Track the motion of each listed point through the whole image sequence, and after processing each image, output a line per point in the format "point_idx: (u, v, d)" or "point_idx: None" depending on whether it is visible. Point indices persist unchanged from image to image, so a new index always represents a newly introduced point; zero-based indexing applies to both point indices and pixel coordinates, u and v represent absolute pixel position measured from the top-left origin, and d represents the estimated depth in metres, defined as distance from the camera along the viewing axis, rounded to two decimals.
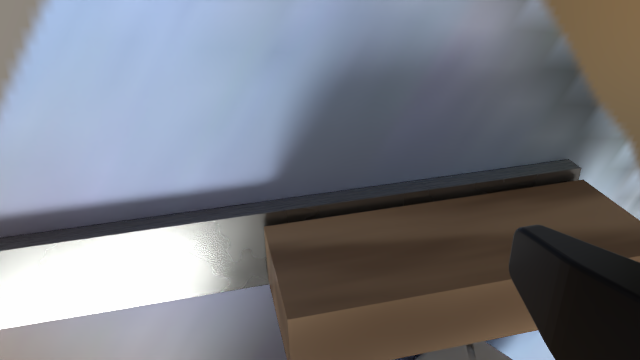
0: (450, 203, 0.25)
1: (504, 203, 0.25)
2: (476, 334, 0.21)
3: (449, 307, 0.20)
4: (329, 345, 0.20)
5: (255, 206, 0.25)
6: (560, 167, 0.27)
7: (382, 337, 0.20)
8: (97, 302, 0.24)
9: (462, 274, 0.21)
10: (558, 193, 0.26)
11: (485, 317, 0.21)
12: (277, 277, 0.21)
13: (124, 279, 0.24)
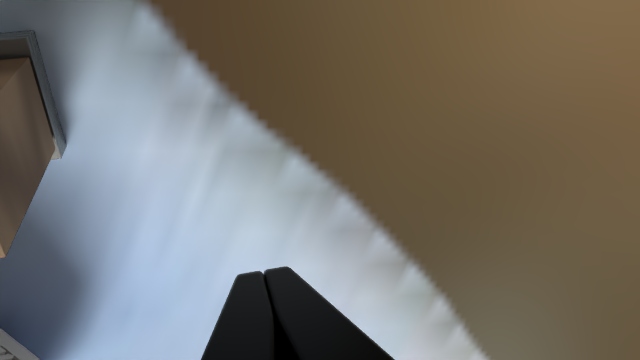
0: None
1: None
2: None
3: None
4: None
5: None
6: None
7: None
8: None
9: None
10: None
11: None
12: None
13: None
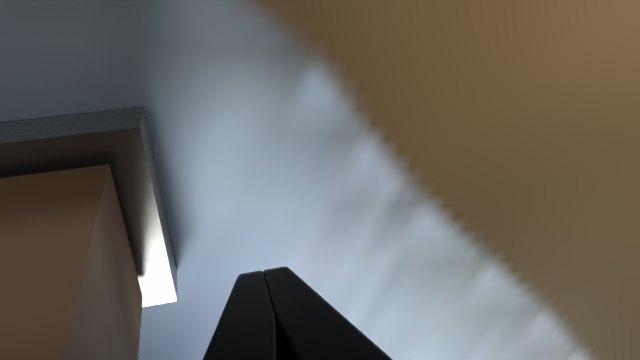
0: None
1: None
2: None
3: None
4: None
5: None
6: (88, 126, 0.10)
7: None
8: None
9: None
10: None
11: None
12: None
13: None
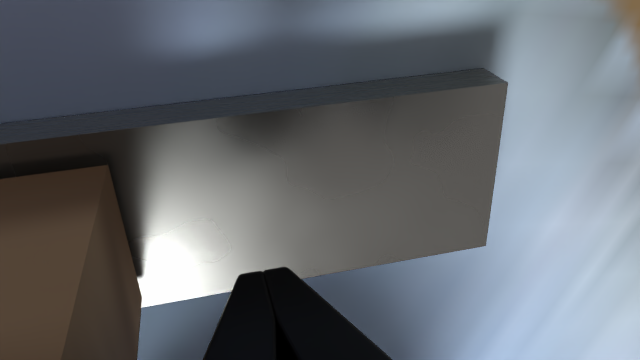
0: None
1: None
2: None
3: None
4: None
5: None
6: (457, 83, 0.11)
7: None
8: None
9: None
10: None
11: None
12: None
13: None
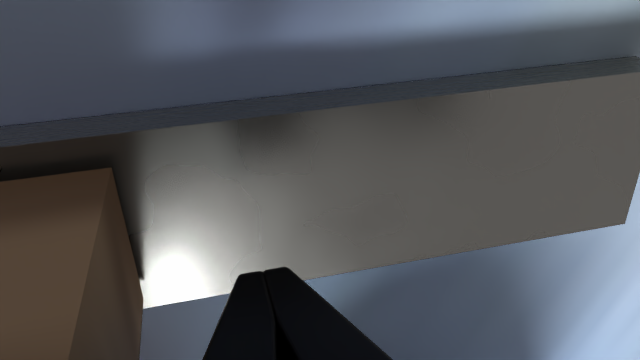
0: None
1: None
2: None
3: None
4: None
5: None
6: (620, 68, 0.12)
7: None
8: None
9: None
10: None
11: None
12: None
13: None
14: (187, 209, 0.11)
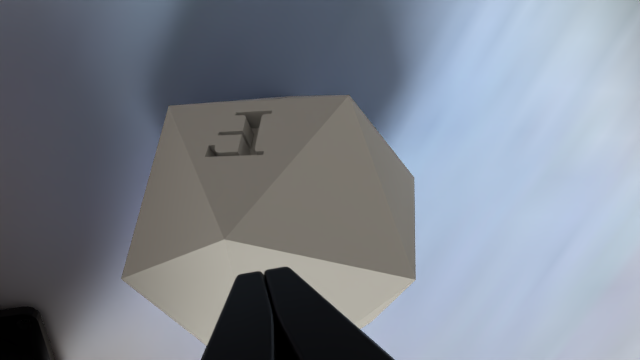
0: None
1: None
2: None
3: None
4: None
5: None
6: None
7: None
8: None
9: None
10: None
11: None
12: None
13: None
14: None
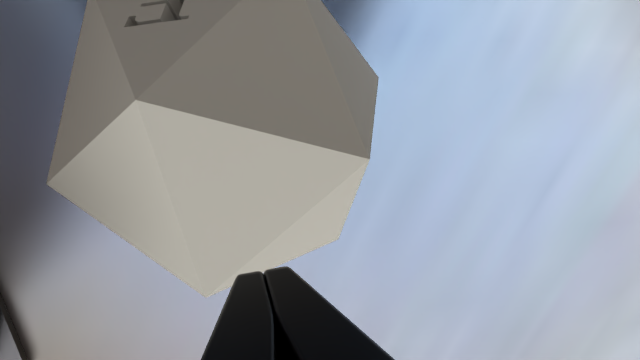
0: None
1: None
2: None
3: None
4: None
5: None
6: None
7: None
8: None
9: None
10: None
11: None
12: None
13: None
14: None
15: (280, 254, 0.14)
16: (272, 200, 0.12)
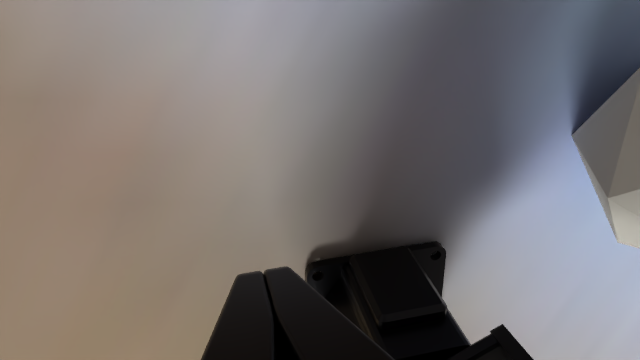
0: None
1: None
2: None
3: None
4: None
5: None
6: None
7: None
8: None
9: None
10: None
11: None
12: None
13: None
14: None
15: None
16: None
